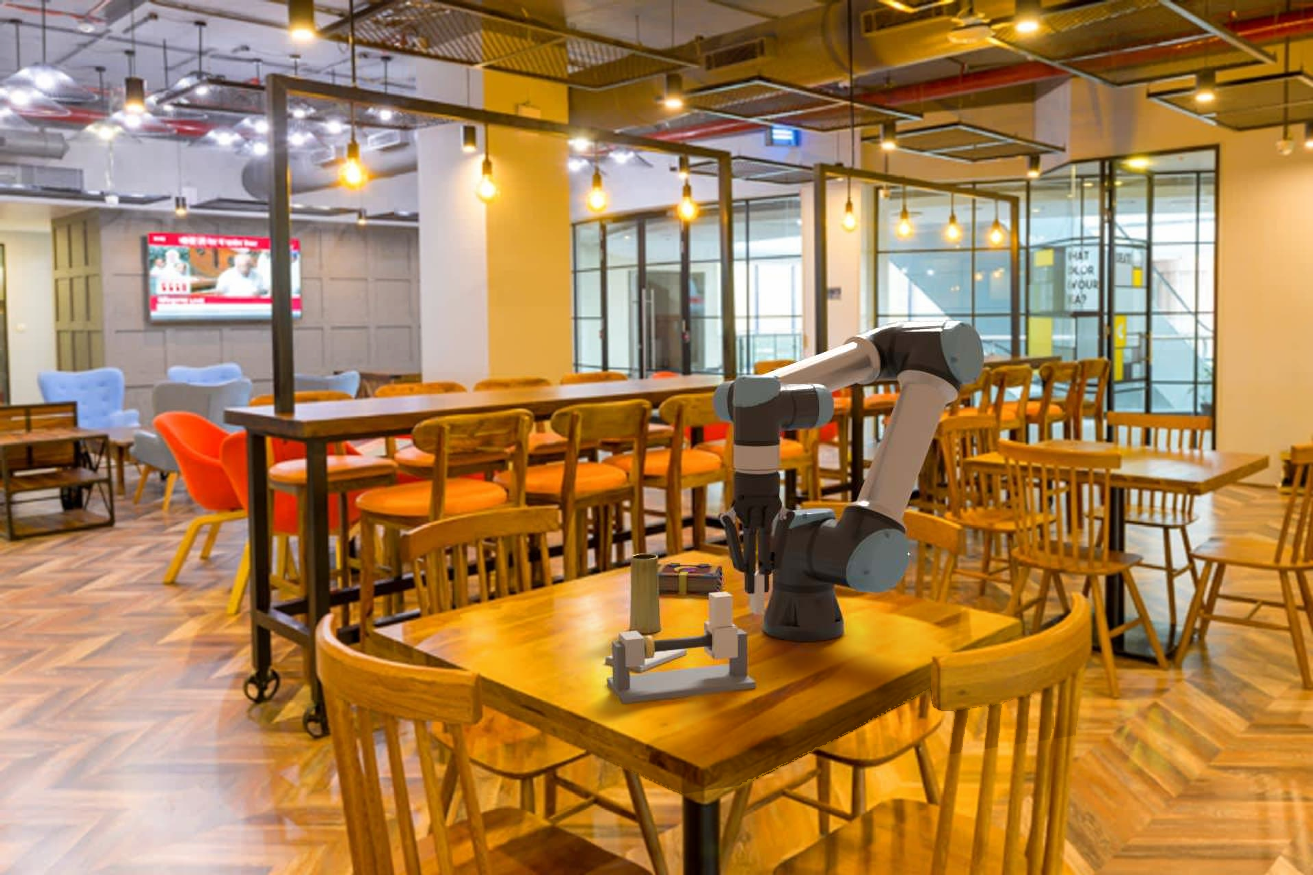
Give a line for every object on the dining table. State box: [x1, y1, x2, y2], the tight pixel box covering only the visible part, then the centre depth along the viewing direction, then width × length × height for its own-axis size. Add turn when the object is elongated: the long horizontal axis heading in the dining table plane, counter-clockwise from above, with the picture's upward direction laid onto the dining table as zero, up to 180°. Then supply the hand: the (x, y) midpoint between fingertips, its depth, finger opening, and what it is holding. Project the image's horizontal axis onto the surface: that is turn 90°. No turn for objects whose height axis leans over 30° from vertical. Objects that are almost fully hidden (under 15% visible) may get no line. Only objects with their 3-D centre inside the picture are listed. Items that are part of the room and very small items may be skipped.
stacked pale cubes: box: [703, 591, 739, 661], centre depth 179 cm, size 4×5×10 cm
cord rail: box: [606, 628, 757, 704], centre depth 178 cm, size 22×10×9 cm, turn 107°
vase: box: [629, 553, 662, 635], centre depth 210 cm, size 6×6×14 cm
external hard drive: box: [604, 649, 687, 673], centre depth 193 cm, size 2×8×12 cm
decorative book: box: [658, 562, 726, 596], centre depth 242 cm, size 11×16×5 cm
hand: (756, 612), depth 181 cm, fingers closed
